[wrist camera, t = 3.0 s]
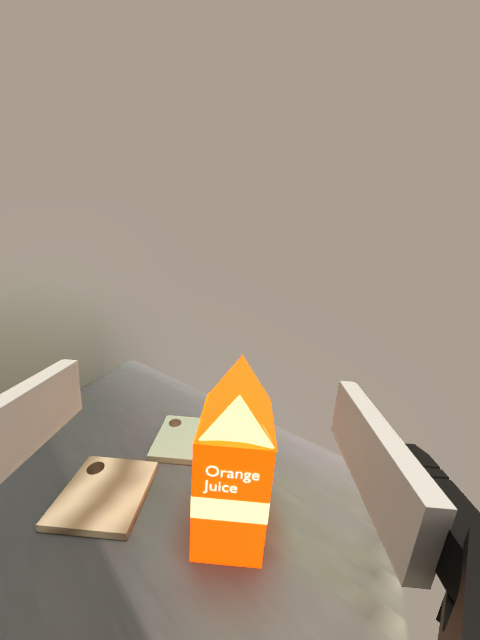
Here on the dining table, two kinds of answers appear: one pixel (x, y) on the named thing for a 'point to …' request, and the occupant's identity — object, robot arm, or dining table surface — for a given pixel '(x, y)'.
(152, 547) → the dining table surface
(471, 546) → the robot arm
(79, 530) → the tile one
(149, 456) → the tile two
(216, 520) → the orange juice
